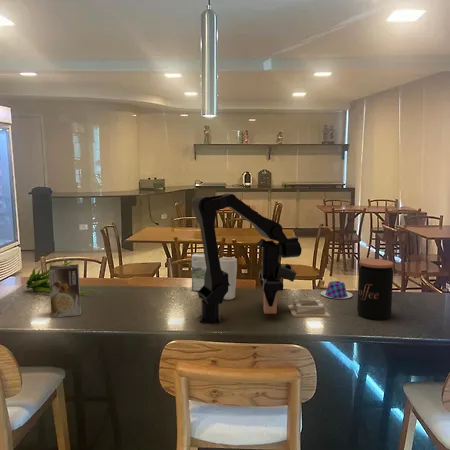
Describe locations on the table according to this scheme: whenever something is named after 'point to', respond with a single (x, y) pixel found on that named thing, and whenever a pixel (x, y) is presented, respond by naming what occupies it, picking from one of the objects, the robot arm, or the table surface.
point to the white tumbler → (229, 275)
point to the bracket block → (268, 308)
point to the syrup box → (198, 271)
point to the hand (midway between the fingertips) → (270, 304)
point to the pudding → (336, 290)
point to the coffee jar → (375, 289)
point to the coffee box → (64, 290)
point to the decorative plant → (43, 280)
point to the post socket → (308, 308)
